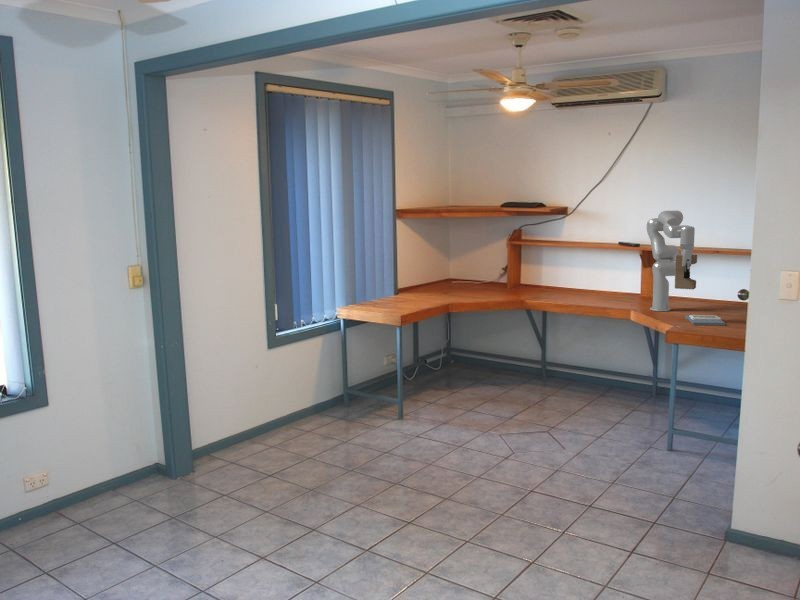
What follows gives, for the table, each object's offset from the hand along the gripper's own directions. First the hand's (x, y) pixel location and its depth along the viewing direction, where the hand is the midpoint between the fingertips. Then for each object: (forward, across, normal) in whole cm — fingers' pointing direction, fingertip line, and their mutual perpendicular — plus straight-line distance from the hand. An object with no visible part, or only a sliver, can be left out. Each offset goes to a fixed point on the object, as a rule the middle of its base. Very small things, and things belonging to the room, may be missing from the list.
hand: (685, 277), depth 403 cm
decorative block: (+7, 0, 0) cm, 7 cm away
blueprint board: (+26, +3, +11) cm, 28 cm away
